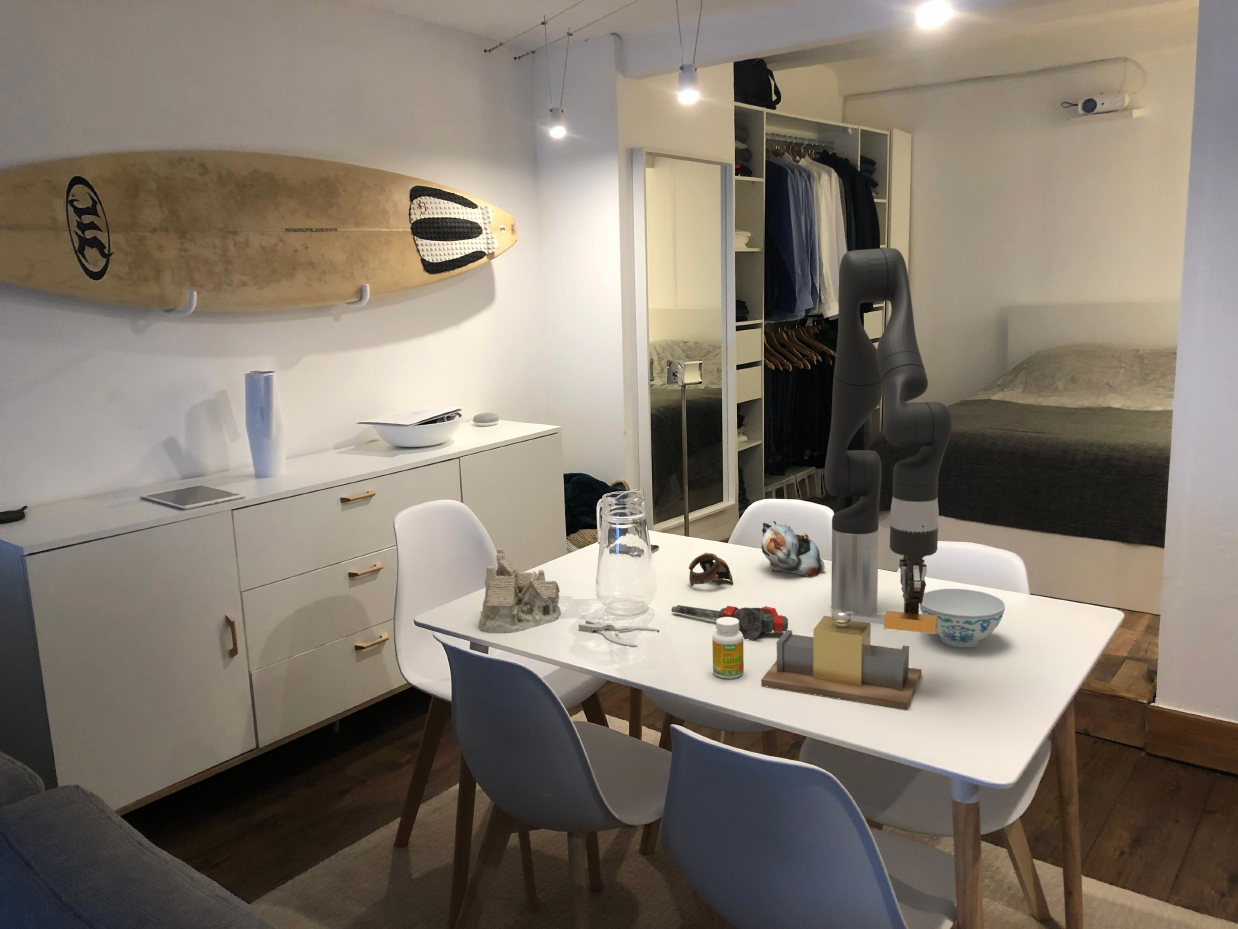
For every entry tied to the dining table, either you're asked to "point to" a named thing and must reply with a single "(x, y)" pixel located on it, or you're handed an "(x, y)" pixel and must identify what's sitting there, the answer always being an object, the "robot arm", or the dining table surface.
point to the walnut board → (845, 688)
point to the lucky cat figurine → (790, 550)
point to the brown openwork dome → (709, 569)
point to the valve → (743, 618)
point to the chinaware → (963, 614)
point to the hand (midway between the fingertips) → (911, 622)
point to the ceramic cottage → (517, 599)
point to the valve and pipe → (843, 656)
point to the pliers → (602, 627)
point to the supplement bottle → (728, 649)
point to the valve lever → (890, 620)
